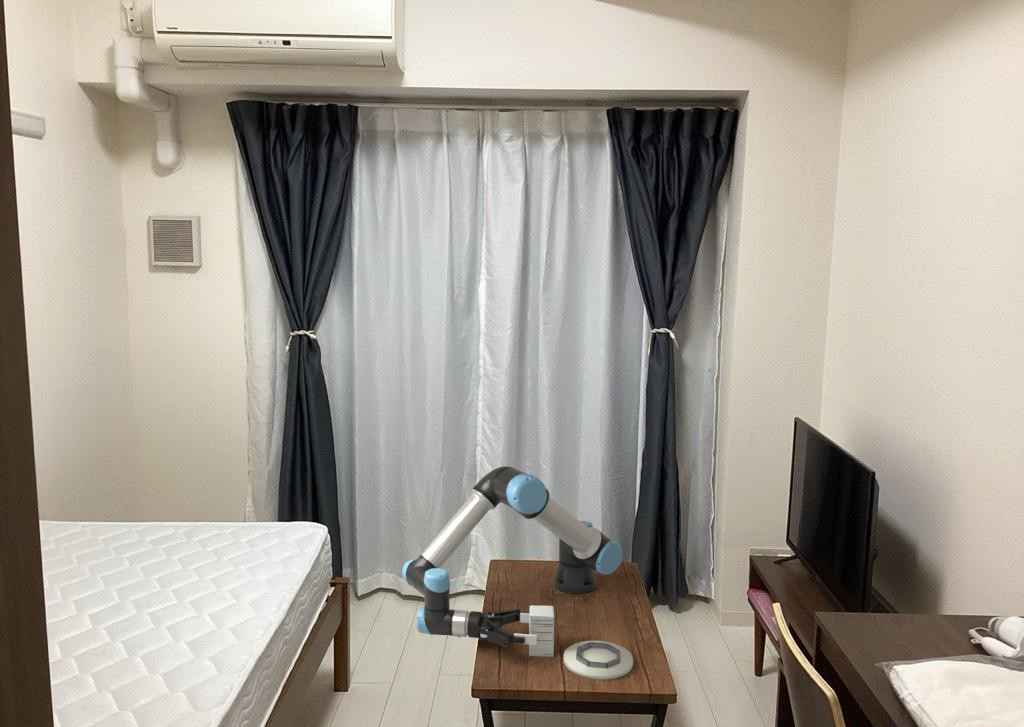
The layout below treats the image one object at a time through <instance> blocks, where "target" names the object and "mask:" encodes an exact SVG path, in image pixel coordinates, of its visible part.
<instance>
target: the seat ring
mask: <svg viewBox="0 0 1024 727" xmlns="http://www.w3.org/2000/svg"><path fill="white" fill-rule="evenodd" d="M589 648H602V649H608V650H609V651H611V652H613V653H615V654H616V655H617V658H616V659H614V660H611V661H609V662H606V663H603V662H591V661H588V660H587V659H585V658H583V657H582V656H580V652H581V651H584V650H587V649H589ZM576 660H577V661H579V662H581V663H582V664H584V665H586V666H587V667H588V666H589V667H594V668H610V667H612V666H614V665H617V664H619V663H620V650H619V649H617V648H615V647H613V646H611V645H610V644H607V643H595V642H591V643H590V642H589V643H587V644H584V645H581V646H579V647H577V652H576Z"/></svg>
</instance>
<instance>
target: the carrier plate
mask: <svg viewBox="0 0 1024 727" xmlns="http://www.w3.org/2000/svg"><path fill="white" fill-rule="evenodd" d="M589 642H590V643H591V642H595V643H607V644H610V645H611V646H613V647H615V648H617V649H619V650H620V663H619V664H617V665H614V666H612V667H610V668H594V667H589V666H588V667H587V666H586V665H584V664H582V663H581V662H579V661H577V660H576V652H577V647H579V646H581V645H584V644H587V643H589ZM580 656H582V657H583V658H585V659H587V660H588V661H591V662H603V663H606V662H609V661H611V660H614V659H616V658H617V655H616V654H615V653H613V652H611V651H609V650H608V649H602V648H589V649H587V650H584V651H581V652H580ZM633 657H634V656H633V655H632V653H631V652H630V651H629V649H627V648H625V647H623V646H622V645H619V644H616V643H614V642H609V641H605V640H604V641H603V640H585V641H579V642H575V643H574V644H571V645H570V646H568V647H567V648H566V649H565V650H564V653H563V664H564V666H565V667H566V669H567V670H569V671H570V672H571V673H572V674H575V675H577V676H579V677H582V678H584V679H585V678H586V679H590V680H596V681H597V680H598V681H599V680H600V681H605V680H606V681H608V680H615V679H619V678H622V677H625V676H626V675H628V674H629V673H630V672H631V671H632V670H633V668H632V667H634V658H633ZM631 669H632V670H631Z"/></svg>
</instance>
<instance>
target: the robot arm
mask: <svg viewBox="0 0 1024 727" xmlns="http://www.w3.org/2000/svg"><path fill="white" fill-rule="evenodd" d="M501 503H502V504H503V505H505V506H508V507H509V508H511V509H513V510H514V511H515V512H516V513H518V514H519V515H520V516H522V517H523V518H525V519H526V520H535V521H536V522H537V523H539V524H540V525H542V526H543V527H544V528H546V529H547V530H548V531H549V532H550V533H552V534H553V535H555V536H556V537H557V538H558V539H559V540H558V542H559V544H558V551H559V552H558V566H557V568H556V570H555V571H556V572H555V574H554V577H553V587H554V588H555V589H556V590H558V591H561V592H564V593H568V594H575V593H577V594H578V595H579V594H586V593H590V592H592V591H594V590H595V589H596V588H597V578H596V575H595V572H594V571H596V572H597V573H599V574H602V575H605V576H606V575H611V574H613V573H614V572H615V571H616V570H617V569H618V568H619V566H620V565H621V563H622V559H623V548H622V546H621V544H620V543H619V542H617V541H616V540H614V539H612V538H609V537H608V536H607V535H606V534H604V533H603V532H601V530H599V529H597V528H596V527H593V523H592V522H590V521H587V520H579V519H578V518H577V517H575V516H574V515H573V514H572V513H571V512H569V511H568V510H567V509H566V508H564V507H563V506H562V505H561V504H559V503H558V502H557V501H555V500H554V499H553V498H551V496H550V491H549V490H548V488H546V486H545V484H544V482H543V481H542V480H541V479H539V478H538V477H536V476H535V475H532V474H528V473H527V472H524V471H522V470H519V469H517V468H515V467H512V466H506V465H503V466H499V467H496V468H494V469H493V470H490V471H489V472H488V473H486V474H485V475H484V476H483V477H482V478H481V479H480V480H479V481H478V482H477V483H476V484H475V486H473V487H472V489H471V495H470V496H469V497H468V498H467V499H466V501H465V502H464V503H463V504H462V505H461V507H460V508H459V509H458V510H457V511H456V513H455V514H454V515H453V516H452V517H451V518H450V519H449V521H448V522H447V523H446V524H445V526H444V527H443V528H442V529H441V530H440V531H439V533H438V534H437V535H436V536H435V537H434V539H433V540H432V541H431V542H430V544H428V545H427V547H426V548H425V549H424V550H423V551H422V552H421V554H420V555H419V556H418V557H417V558H416V559H415V558H412V559H409V560H408V561H406V562H404V563H405V564H404V565H403V566H402V569H401V575H402V578H403V579H404V581H406V583H407V584H408V586H409V587H410V586H411V587H412V588H414V589H415V590H416V591H418V593H419V594H421V595H422V596H423V597H424V598H423V599H424V607H420V608H419V609H418V611H417V615H416V629H417V632H418V633H420V634H424V635H425V634H426V635H431V636H434V635H437V636H451V637H457V638H461V637H464V638H466V637H468V638H473V639H474V638H475V639H480V640H481V641H488V642H491V643H494V644H496V645H497V644H498V645H499V646H503V647H506V648H513V647H514V645H515V644H519V645H536V644H537V635H530V634H529V633H528V634H526V633H525V634H524V633H513V634H512V633H510V632H508V631H507V630H504V629H502V627H503V626H505V625H509V624H513V623H516V622H519V623H520V624H521V623H522V624H523V623H525V624H529V612H528V613H525V612H524V613H523V612H521V609H519V608H515V609H508V610H499V611H489V612H487V616H484V614H483V612H482V611H472V610H471V611H470V612H469V610H462V609H450V598H451V597H450V595H451V594H450V593H451V592H450V591H451V581H450V573H449V572H448V570H446V569H444V568H442V567H443V566H444V564H446V562H447V561H448V560H449V559H450V558H451V556H452V555H453V554H454V553H455V552H456V550H457V549H458V548H459V547H460V545H461V544H463V542H464V541H465V539H466V538H467V537H468V536H469V534H470V533H472V532H473V530H474V528H476V527H477V525H478V524H479V523H480V522H481V521H482V519H483V518H484V517H485V516H486V515H487V513H489V511H490V510H495V508H497V506H498V505H499V504H501Z"/></svg>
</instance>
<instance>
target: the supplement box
mask: <svg viewBox="0 0 1024 727" xmlns="http://www.w3.org/2000/svg"><path fill="white" fill-rule="evenodd" d="M528 614H529V623H528V624H529V625H528V632H529V633H528V634H530V635H537V644H536V645H529V646H528V648H529V649H528V650H529V657H547V658H548V657H555V656H554V655H555V653H554V652H555V646H554V645H555V609H554V605H529V611H528Z"/></svg>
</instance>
